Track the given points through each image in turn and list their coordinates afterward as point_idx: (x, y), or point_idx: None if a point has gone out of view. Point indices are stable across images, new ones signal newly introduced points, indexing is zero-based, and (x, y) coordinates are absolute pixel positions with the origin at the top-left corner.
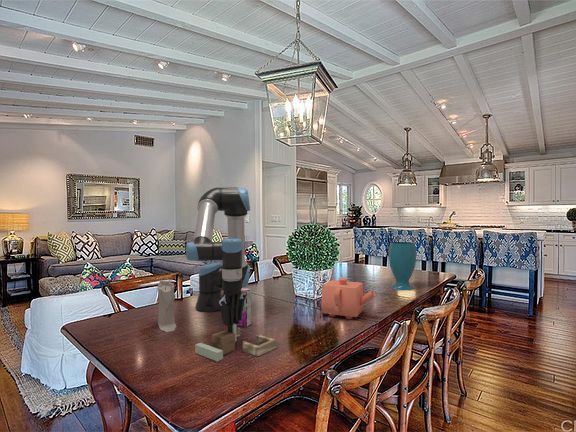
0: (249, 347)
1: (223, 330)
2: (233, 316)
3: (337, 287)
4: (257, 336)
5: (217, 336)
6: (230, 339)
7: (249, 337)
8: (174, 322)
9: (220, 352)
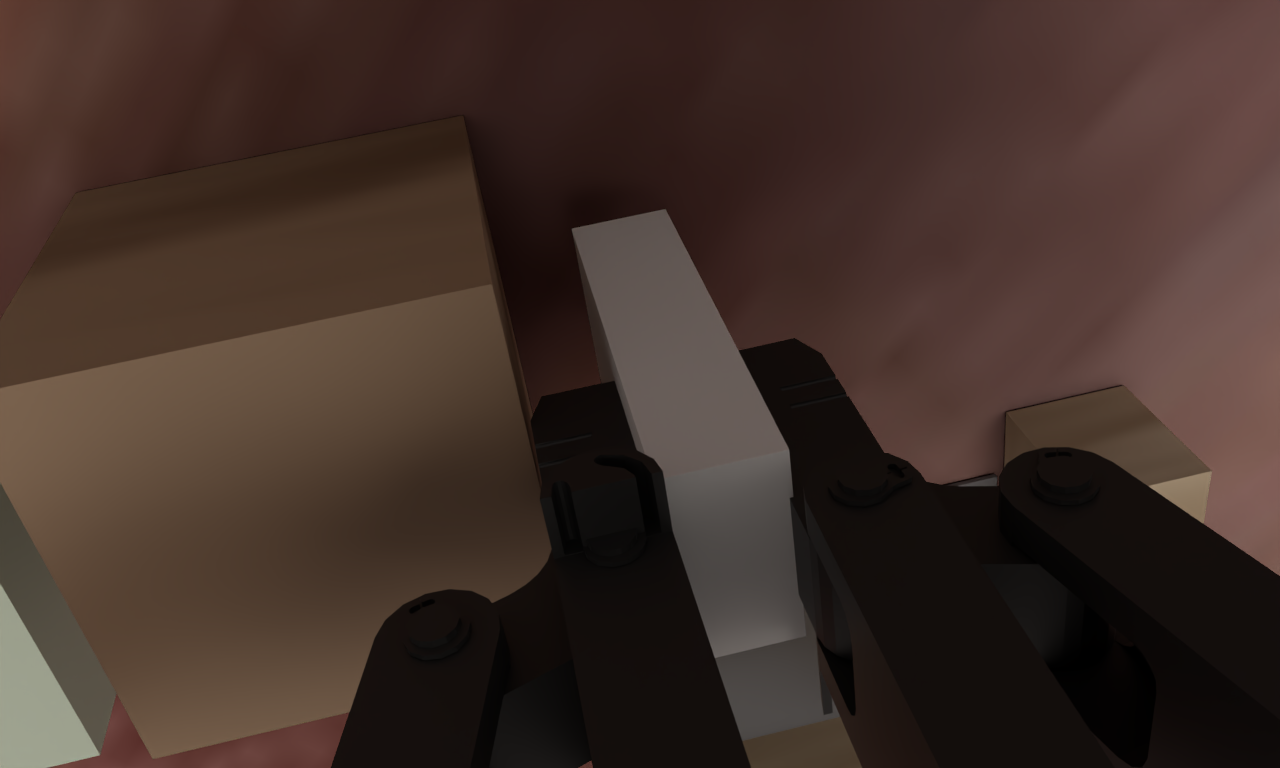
0: None
1: (470, 289)
2: (879, 716)
3: None
4: None
5: (75, 598)
6: None
7: (1186, 65)
8: None
9: (39, 754)
